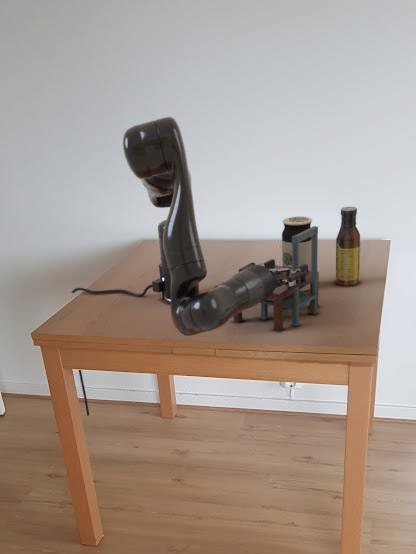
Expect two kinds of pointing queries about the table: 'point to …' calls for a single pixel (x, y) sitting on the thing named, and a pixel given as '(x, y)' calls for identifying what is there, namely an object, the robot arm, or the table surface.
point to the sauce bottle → (348, 249)
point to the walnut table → (279, 296)
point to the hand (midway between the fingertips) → (289, 266)
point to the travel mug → (293, 228)
